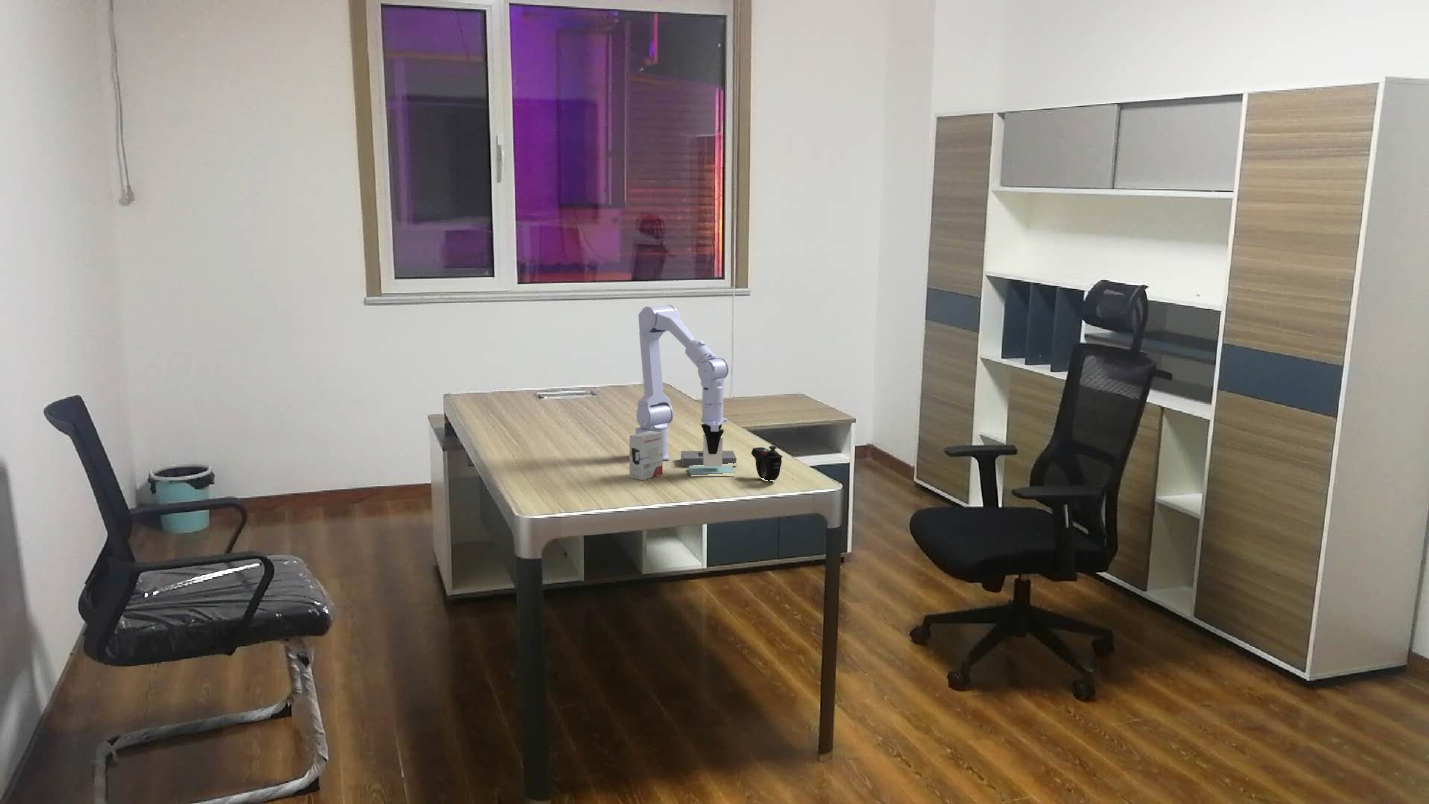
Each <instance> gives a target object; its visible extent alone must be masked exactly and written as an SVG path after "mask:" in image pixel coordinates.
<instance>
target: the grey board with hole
mask: <svg viewBox="0 0 1429 804" xmlns="http://www.w3.org/2000/svg"><path fill="white" fill-rule="evenodd" d="M736 456H737V455H736V454H735V452H734V450H723V451H722V464H728V463H733V464H734V463H736V464H737V457H736ZM681 460H682V461H681ZM680 461H681V465H682V464H683V465H682V467H683V466H693V465H703V450H680Z"/></svg>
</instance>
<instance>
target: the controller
mask: <svg viewBox="0 0 1429 804" xmlns="http://www.w3.org/2000/svg"><path fill="white" fill-rule="evenodd" d="M776 449H778V447H777V445H770V446H768V448H765V447H763V446H762V447H761V446H759V447H753V448H752V449H751V452H750V454H751V455H752V457H753V458H754V460H755V469H756V473H757V475H758V478H760V477H761V478H764V479H765V480H768V481H769V482H771V481H770V480H774V481H776V480H777V479H778V478H779V475H780V472H781V467H782V463H783V462H782V461H783V460H782V458H783V455H781V454H779V452H778V451H776ZM761 478H760V479H761Z"/></svg>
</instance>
